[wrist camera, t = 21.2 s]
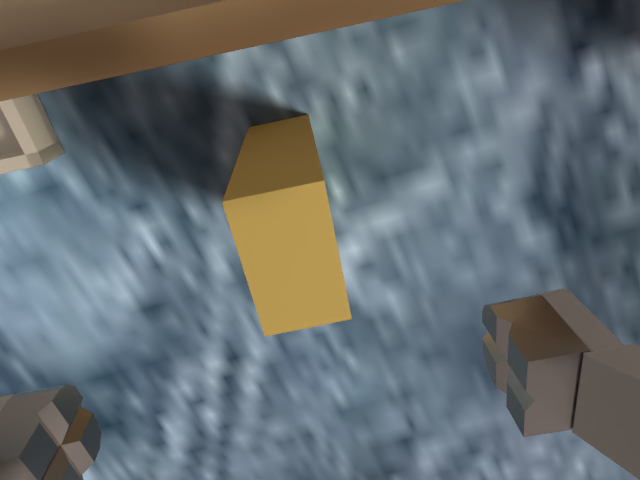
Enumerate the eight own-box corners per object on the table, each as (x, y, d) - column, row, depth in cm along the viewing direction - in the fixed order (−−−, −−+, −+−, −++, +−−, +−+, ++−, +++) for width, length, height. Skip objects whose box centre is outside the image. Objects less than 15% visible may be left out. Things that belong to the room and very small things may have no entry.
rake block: (248, 127, 21) (221, 201, 13) (308, 114, 21) (324, 180, 12) (272, 218, 24) (265, 336, 15) (326, 206, 24) (351, 318, 15)
